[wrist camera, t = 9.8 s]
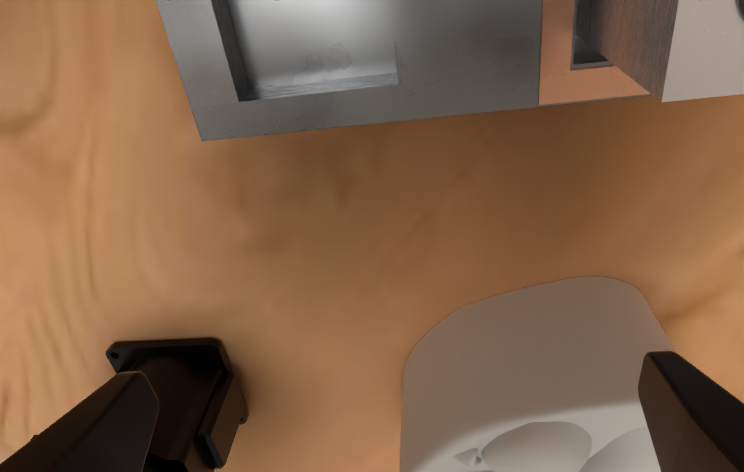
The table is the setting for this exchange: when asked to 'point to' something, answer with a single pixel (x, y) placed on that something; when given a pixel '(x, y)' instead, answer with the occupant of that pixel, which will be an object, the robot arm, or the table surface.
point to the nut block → (670, 44)
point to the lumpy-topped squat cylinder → (533, 383)
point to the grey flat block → (378, 61)
